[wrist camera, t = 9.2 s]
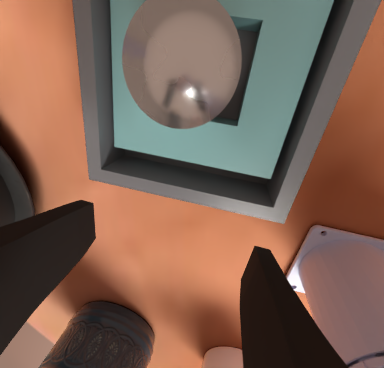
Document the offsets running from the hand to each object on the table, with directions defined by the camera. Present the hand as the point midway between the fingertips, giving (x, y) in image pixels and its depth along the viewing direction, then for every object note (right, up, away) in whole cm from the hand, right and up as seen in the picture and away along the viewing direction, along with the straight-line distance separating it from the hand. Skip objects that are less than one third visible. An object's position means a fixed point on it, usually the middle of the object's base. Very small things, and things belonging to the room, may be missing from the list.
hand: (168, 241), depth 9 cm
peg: (+2, +10, +5) cm, 11 cm away
